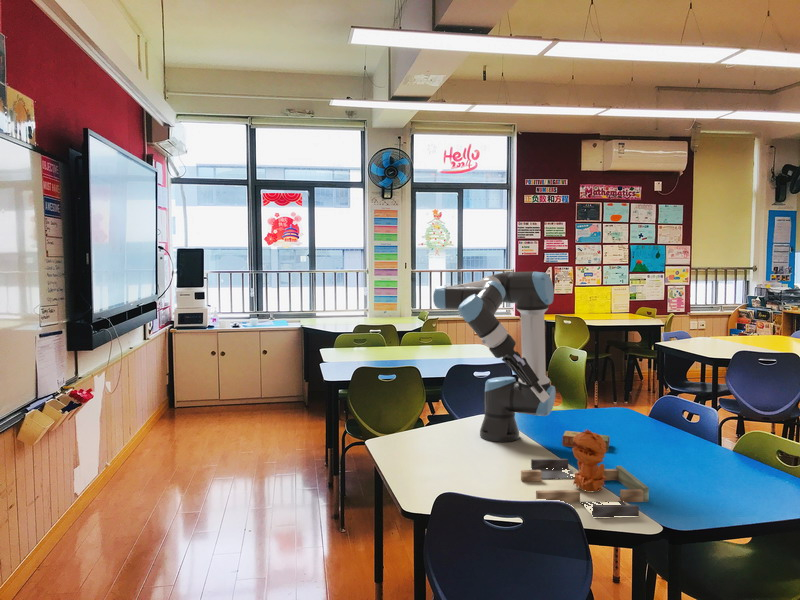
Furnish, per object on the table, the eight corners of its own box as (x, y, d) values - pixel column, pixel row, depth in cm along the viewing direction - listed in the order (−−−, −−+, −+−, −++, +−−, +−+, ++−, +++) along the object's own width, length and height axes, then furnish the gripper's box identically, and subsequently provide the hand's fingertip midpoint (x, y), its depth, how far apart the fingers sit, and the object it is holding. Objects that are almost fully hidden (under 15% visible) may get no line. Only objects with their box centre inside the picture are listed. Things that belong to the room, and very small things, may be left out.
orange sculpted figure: (562, 483, 171) (563, 425, 170) (593, 480, 174) (595, 422, 173) (582, 497, 161) (583, 435, 160) (615, 494, 163) (617, 432, 162)
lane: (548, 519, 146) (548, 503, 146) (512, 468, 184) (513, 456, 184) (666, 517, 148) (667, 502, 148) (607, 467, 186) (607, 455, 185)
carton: (565, 440, 216) (565, 429, 216) (609, 446, 210) (609, 434, 210) (562, 446, 209) (562, 435, 209) (608, 452, 202) (608, 440, 202)
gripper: (481, 347, 173) (527, 403, 176) (497, 350, 160) (547, 411, 163) (498, 331, 174) (544, 387, 177) (516, 333, 161) (565, 394, 164)
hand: (545, 399), depth 170 cm, fingers closed
